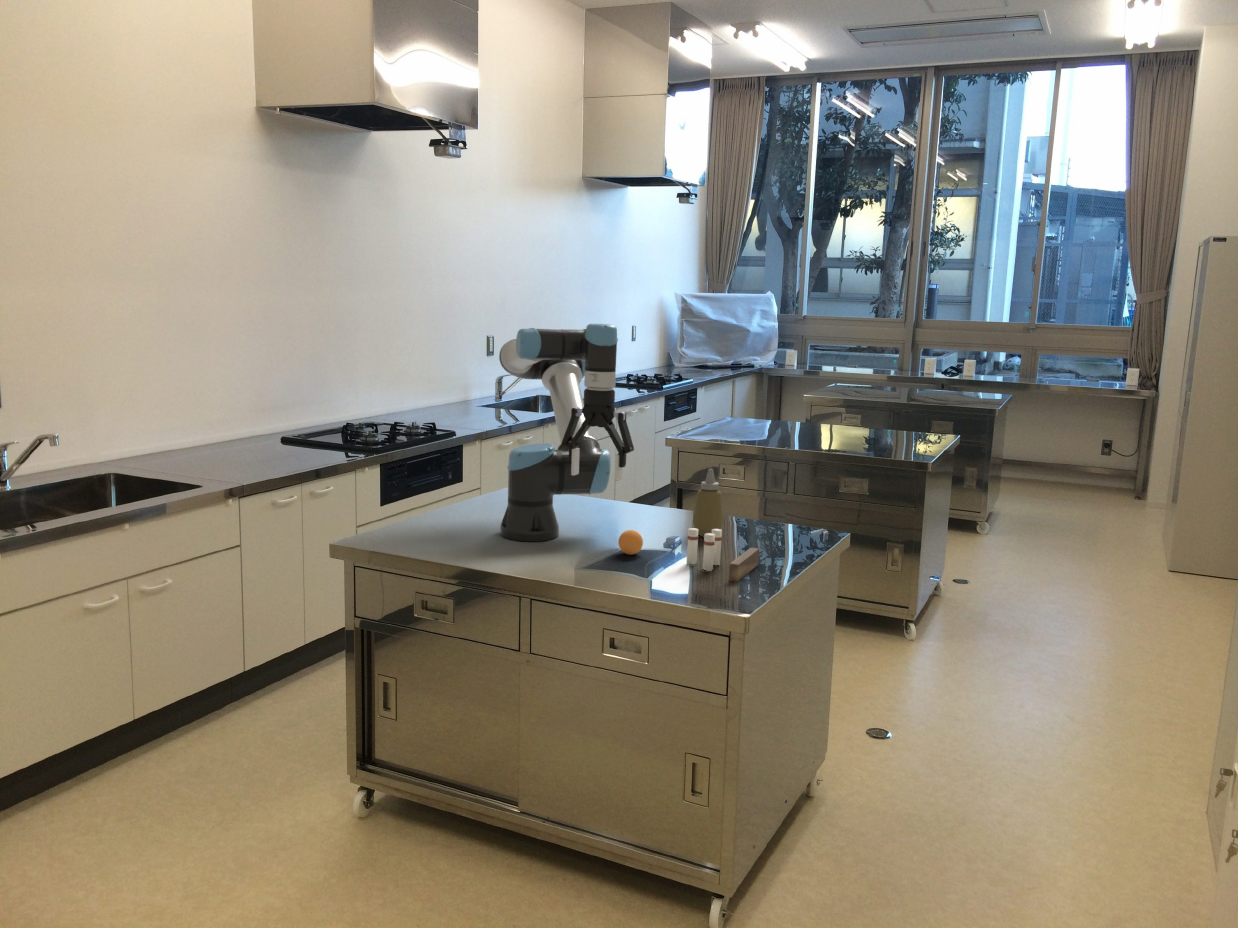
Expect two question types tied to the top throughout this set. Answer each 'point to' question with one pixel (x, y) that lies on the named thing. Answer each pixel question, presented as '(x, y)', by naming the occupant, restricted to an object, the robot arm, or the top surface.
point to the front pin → (692, 546)
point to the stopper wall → (743, 564)
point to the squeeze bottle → (708, 506)
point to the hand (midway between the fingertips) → (596, 477)
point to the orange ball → (630, 542)
